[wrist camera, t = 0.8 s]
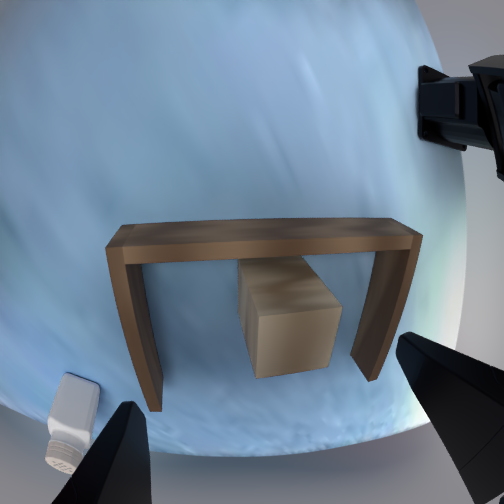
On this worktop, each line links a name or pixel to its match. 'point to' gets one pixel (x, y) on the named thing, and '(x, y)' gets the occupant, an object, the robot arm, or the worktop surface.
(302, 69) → the worktop surface
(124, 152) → the worktop surface
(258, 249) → the wooden u-shaped frame
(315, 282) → the maple block
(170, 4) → the worktop surface
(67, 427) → the salt shaker
